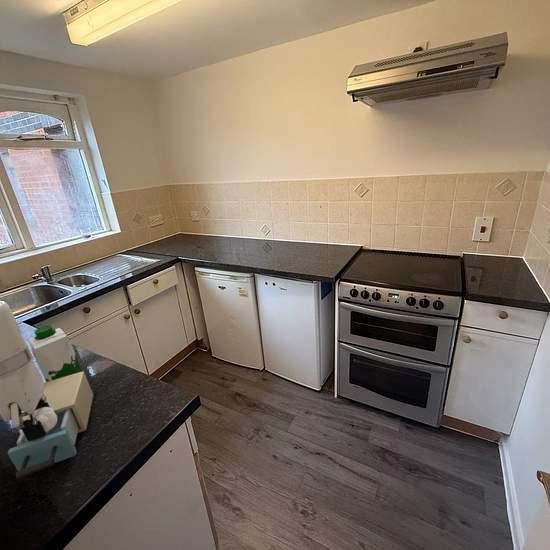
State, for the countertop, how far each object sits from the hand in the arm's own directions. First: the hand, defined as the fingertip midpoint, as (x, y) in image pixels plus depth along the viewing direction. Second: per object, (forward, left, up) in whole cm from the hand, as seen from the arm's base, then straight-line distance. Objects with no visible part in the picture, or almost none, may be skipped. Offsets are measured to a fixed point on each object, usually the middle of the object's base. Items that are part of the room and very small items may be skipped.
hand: (41, 427), depth 66 cm
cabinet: (0, +11, -8) cm, 13 cm away
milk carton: (-1, +25, -8) cm, 26 cm away
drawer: (0, 0, -7) cm, 7 cm away
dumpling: (0, 0, -1) cm, 1 cm away
